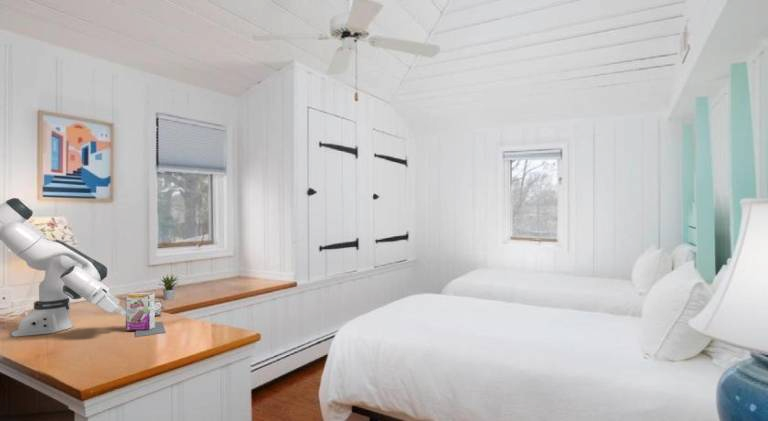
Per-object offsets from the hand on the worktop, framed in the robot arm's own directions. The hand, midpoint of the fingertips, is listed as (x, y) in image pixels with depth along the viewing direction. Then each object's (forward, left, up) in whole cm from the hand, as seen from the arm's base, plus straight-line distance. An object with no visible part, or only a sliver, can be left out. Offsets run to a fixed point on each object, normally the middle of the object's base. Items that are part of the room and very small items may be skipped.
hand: (125, 313), depth 194 cm
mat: (+10, +1, -9) cm, 13 cm away
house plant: (+23, +82, -9) cm, 86 cm away
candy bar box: (+6, +1, -8) cm, 10 cm away
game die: (+13, +31, -9) cm, 35 cm away
